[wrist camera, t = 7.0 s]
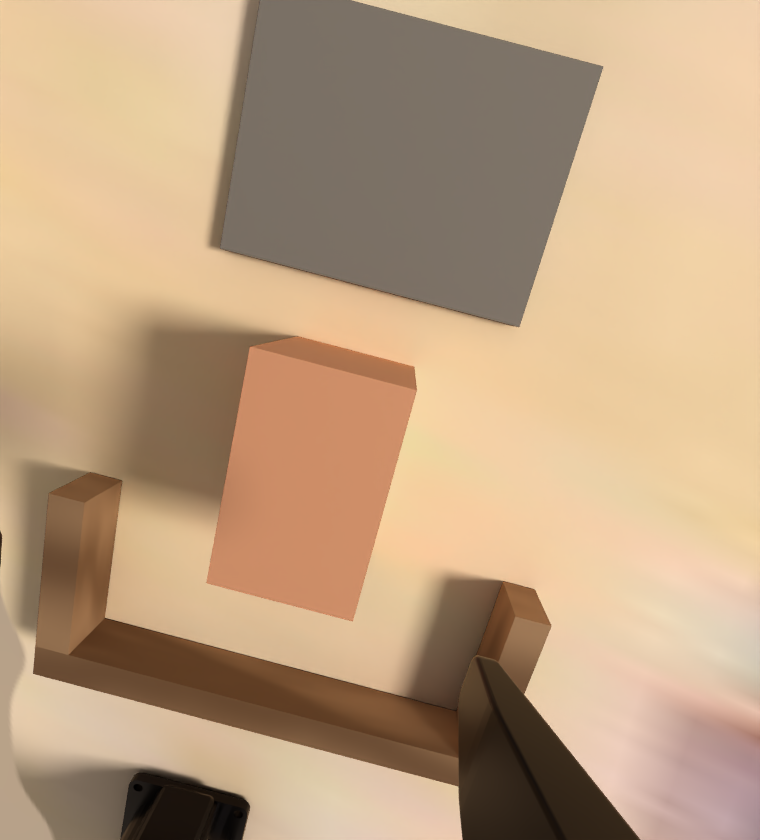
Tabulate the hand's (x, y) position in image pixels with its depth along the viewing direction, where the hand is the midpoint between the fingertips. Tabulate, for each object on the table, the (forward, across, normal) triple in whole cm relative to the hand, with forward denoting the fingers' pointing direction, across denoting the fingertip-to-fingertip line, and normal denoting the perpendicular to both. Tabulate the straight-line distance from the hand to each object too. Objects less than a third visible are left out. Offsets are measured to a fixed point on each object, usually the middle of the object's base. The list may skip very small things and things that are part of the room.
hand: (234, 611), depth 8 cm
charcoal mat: (+12, 0, -11) cm, 16 cm away
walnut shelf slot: (+12, 0, +9) cm, 15 cm away
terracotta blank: (+12, 0, 0) cm, 12 cm away
